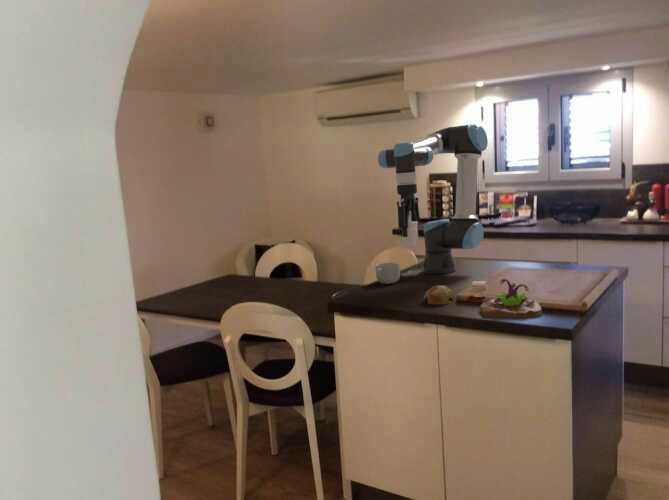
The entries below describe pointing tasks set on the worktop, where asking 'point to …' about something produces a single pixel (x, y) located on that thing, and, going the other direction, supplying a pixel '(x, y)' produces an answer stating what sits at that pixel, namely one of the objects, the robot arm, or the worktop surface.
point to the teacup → (387, 272)
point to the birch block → (479, 285)
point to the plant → (511, 305)
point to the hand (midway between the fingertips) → (410, 243)
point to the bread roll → (439, 295)
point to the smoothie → (412, 232)
